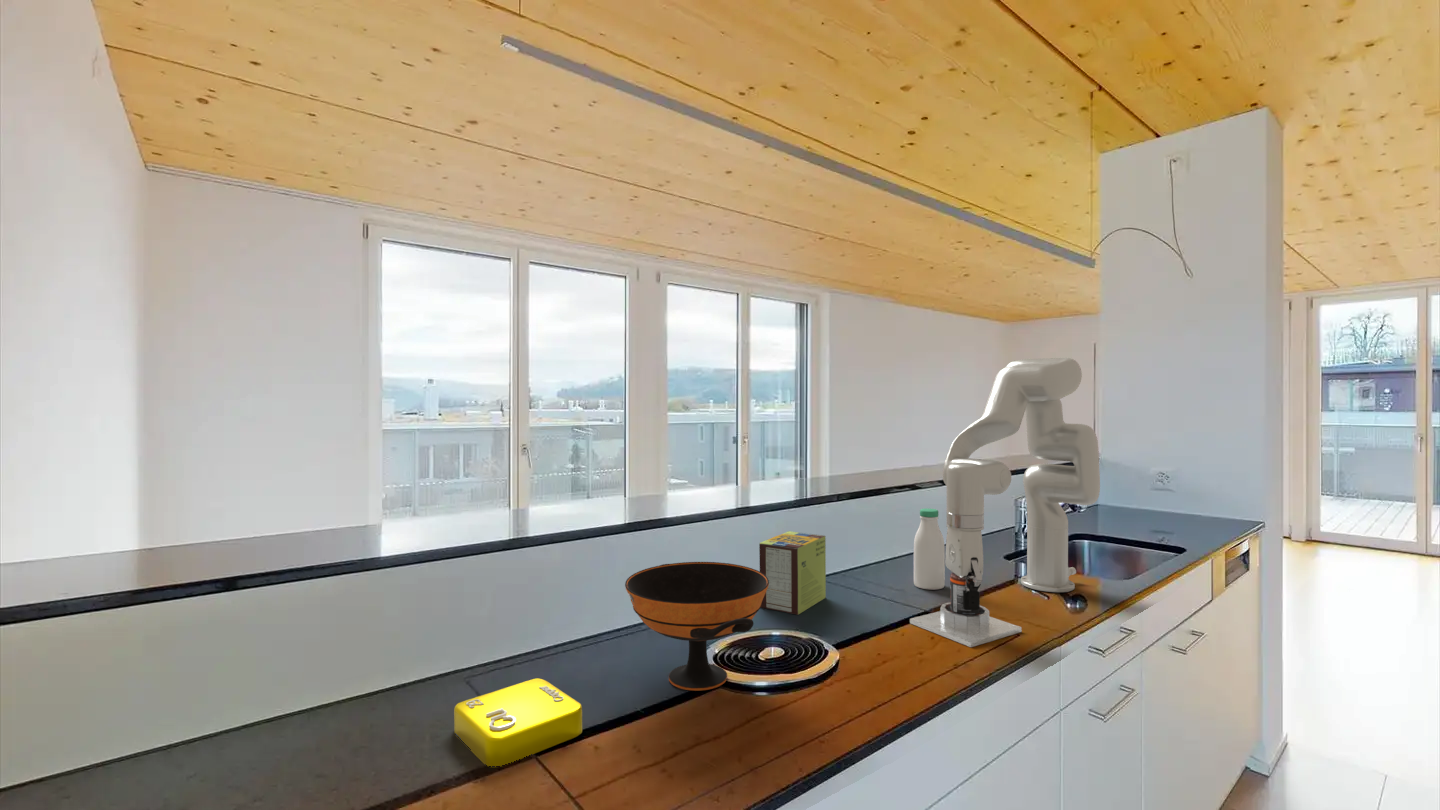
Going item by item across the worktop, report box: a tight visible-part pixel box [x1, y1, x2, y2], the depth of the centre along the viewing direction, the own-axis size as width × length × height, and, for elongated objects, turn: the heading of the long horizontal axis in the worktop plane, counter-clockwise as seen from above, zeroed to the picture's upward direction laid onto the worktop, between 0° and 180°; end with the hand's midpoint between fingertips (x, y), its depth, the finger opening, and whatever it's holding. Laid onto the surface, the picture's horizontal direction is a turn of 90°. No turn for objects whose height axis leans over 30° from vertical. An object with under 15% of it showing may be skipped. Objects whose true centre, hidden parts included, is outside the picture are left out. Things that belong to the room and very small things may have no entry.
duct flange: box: [909, 601, 1022, 648], centre depth 143 cm, size 16×16×4 cm
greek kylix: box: [624, 561, 769, 692], centre depth 118 cm, size 36×26×18 cm
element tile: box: [453, 677, 583, 768], centre depth 101 cm, size 15×15×5 cm
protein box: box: [758, 530, 827, 616], centre depth 160 cm, size 10×15×16 cm
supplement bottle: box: [949, 571, 981, 615], centre depth 143 cm, size 6×6×11 cm
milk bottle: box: [913, 508, 946, 591], centre depth 173 cm, size 8×8×20 cm
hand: (965, 603), depth 143 cm, fingers closed on supplement bottle, 6 cm apart
